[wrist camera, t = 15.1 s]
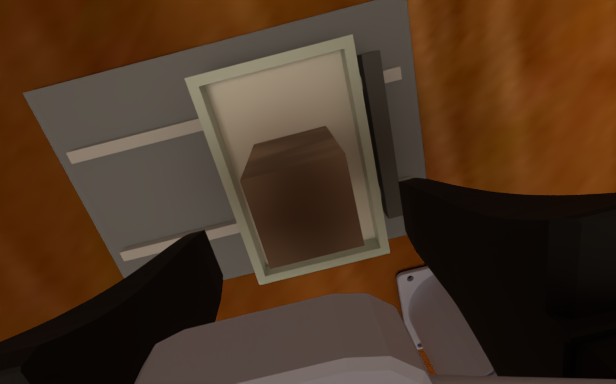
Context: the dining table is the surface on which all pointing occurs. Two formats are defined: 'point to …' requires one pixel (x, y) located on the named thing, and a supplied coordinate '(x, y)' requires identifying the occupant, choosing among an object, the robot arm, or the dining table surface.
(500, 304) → the robot arm
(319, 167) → the walnut block
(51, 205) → the dining table surface
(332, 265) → the cream tray
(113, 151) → the track
